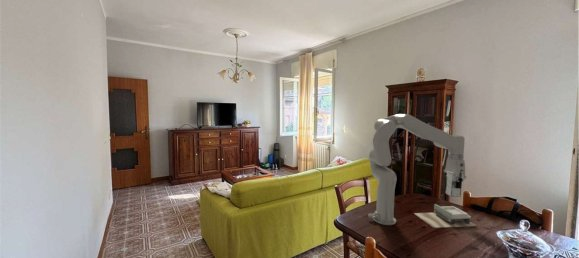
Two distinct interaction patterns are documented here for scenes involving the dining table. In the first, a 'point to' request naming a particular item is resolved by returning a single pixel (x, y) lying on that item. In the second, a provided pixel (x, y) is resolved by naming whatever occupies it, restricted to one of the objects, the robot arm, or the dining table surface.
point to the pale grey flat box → (451, 214)
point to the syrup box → (452, 185)
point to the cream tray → (440, 221)
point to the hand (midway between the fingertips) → (453, 185)
